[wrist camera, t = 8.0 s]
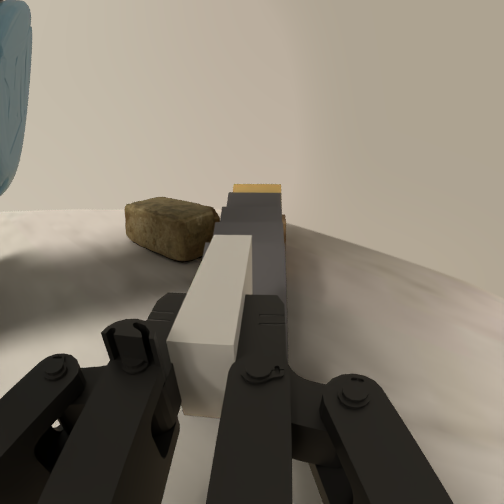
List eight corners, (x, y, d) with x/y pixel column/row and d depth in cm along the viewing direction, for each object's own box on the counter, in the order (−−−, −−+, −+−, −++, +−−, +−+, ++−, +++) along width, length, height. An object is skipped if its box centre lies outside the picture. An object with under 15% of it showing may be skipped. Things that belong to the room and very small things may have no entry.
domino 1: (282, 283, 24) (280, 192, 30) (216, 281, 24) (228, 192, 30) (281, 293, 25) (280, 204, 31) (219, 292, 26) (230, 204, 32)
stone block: (185, 269, 30) (180, 219, 28) (124, 243, 36) (118, 203, 34) (226, 250, 34) (224, 204, 32) (161, 230, 41) (157, 192, 39)
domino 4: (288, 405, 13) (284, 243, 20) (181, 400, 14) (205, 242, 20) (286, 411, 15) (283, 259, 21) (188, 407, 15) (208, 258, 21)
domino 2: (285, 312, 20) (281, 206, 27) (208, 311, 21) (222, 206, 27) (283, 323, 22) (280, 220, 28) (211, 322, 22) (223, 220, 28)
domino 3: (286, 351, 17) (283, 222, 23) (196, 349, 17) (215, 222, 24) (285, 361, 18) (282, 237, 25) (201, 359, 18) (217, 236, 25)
